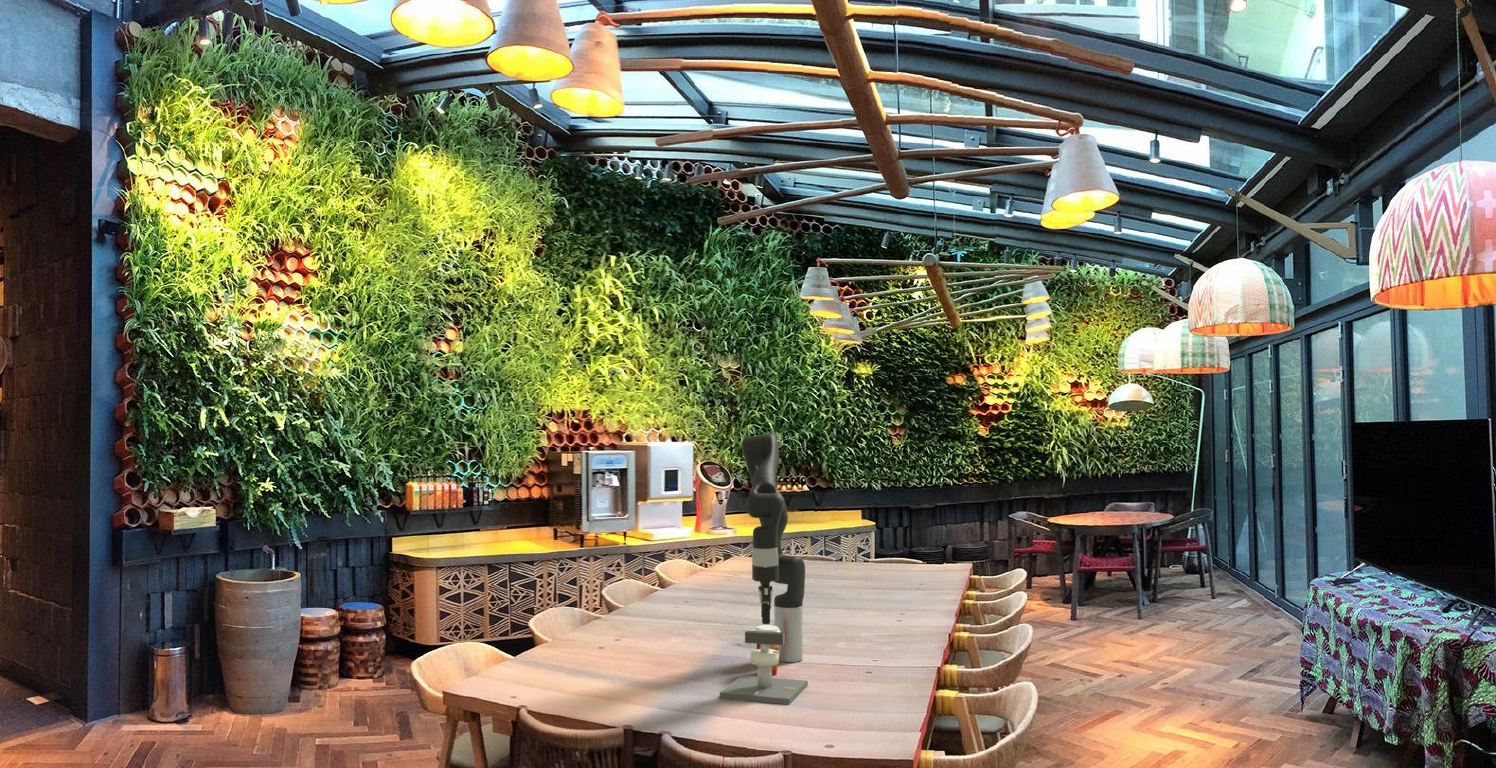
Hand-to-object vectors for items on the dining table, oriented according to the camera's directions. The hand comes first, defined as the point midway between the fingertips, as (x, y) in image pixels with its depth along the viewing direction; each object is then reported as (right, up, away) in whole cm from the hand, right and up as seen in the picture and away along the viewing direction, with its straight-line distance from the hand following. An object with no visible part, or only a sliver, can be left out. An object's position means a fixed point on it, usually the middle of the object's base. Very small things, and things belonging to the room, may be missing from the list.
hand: (765, 620), depth 281 cm
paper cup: (+1, -21, +20) cm, 29 cm away
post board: (0, -20, -1) cm, 20 cm away
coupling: (0, -12, 0) cm, 12 cm away
